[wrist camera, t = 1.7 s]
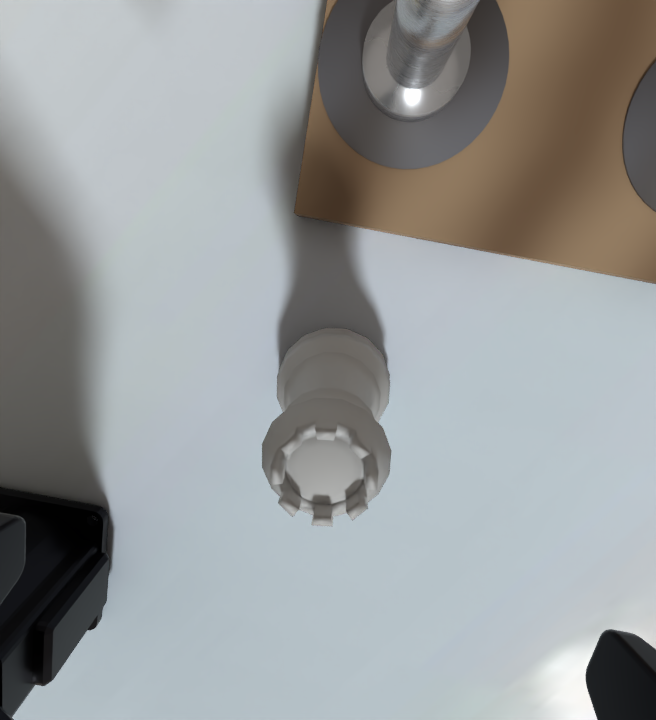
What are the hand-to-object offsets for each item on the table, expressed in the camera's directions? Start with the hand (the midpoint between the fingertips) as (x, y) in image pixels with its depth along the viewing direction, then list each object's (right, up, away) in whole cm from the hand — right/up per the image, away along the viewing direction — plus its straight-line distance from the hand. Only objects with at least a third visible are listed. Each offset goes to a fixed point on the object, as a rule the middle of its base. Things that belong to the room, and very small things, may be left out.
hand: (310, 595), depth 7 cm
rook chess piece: (+1, +3, +11) cm, 12 cm away
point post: (+3, +13, +7) cm, 15 cm away
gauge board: (+8, +12, +8) cm, 17 cm away
